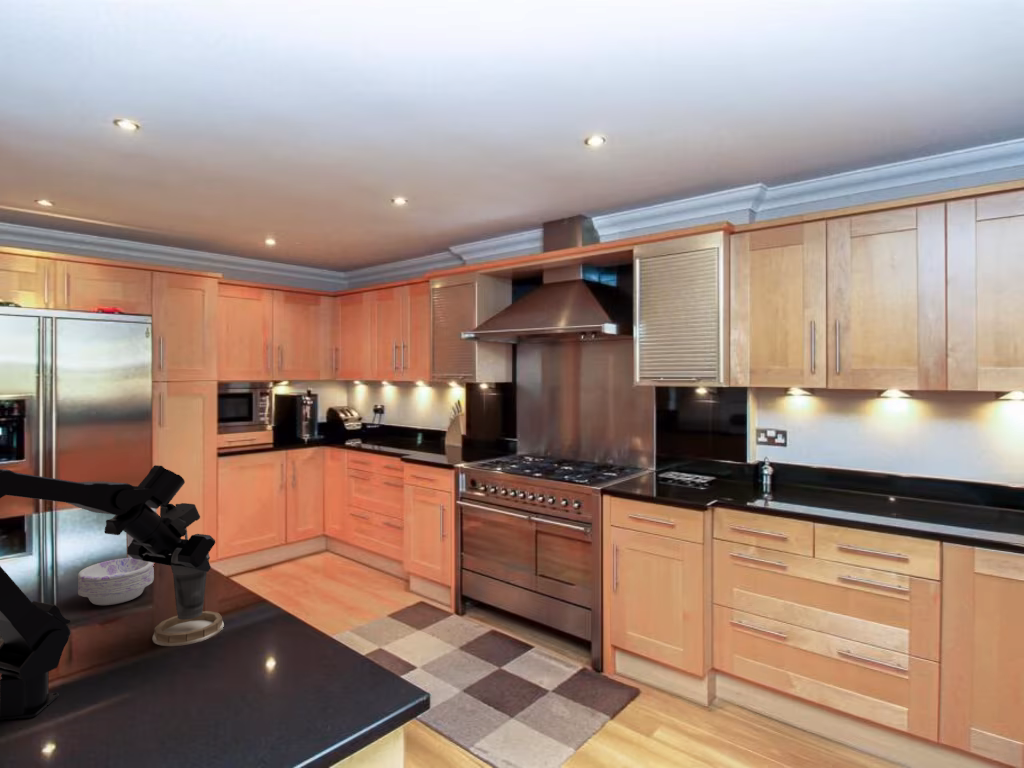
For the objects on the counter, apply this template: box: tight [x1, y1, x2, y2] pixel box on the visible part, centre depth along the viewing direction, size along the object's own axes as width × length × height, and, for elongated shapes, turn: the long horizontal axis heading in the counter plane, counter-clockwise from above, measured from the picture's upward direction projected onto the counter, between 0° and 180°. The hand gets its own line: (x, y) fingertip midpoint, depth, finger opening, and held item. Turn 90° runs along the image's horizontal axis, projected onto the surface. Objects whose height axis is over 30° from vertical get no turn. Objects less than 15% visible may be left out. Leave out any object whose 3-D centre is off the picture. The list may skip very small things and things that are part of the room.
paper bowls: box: [77, 557, 155, 606], centre depth 138 cm, size 15×15×8 cm
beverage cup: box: [170, 527, 211, 620], centre depth 119 cm, size 7×7×20 cm
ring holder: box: [152, 610, 225, 647], centre depth 119 cm, size 13×13×2 cm
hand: (196, 567), depth 120 cm, fingers closed on beverage cup, 7 cm apart
